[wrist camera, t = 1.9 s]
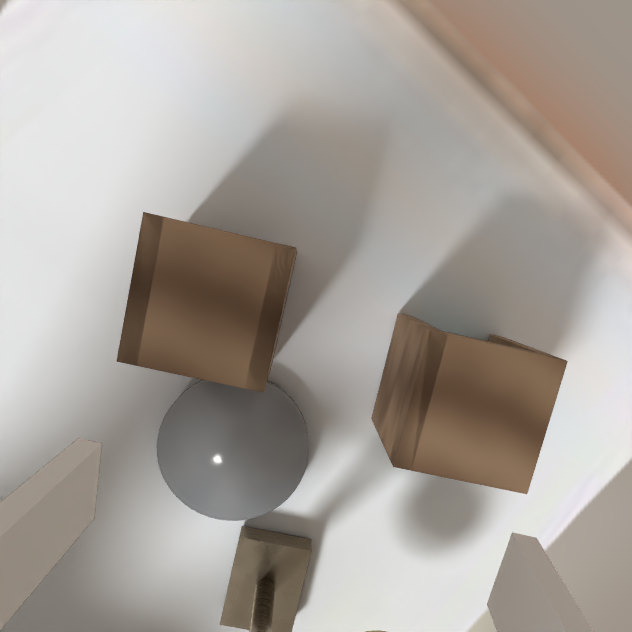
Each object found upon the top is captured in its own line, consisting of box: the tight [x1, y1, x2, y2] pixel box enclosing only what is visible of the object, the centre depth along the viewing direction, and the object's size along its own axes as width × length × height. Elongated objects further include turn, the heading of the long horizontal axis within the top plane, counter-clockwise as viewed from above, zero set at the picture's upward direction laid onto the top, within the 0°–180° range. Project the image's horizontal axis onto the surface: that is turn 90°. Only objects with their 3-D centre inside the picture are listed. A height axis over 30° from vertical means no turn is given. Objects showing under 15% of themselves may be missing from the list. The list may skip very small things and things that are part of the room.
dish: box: [157, 380, 308, 521], centre depth 35 cm, size 12×12×1 cm
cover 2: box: [371, 313, 567, 494], centre depth 31 cm, size 9×9×8 cm
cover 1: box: [117, 212, 297, 392], centre depth 30 cm, size 9×9×8 cm
